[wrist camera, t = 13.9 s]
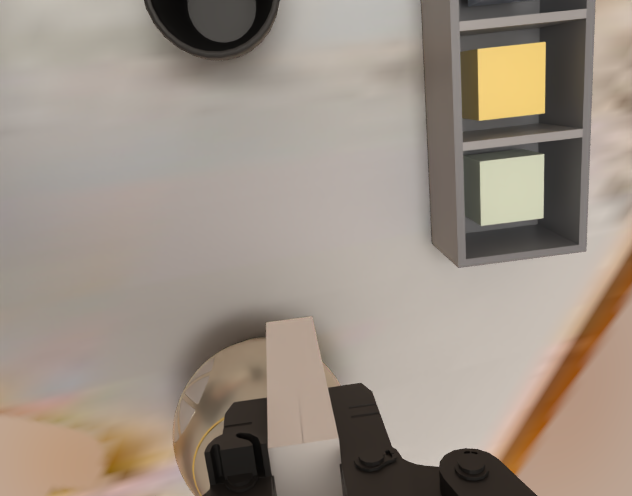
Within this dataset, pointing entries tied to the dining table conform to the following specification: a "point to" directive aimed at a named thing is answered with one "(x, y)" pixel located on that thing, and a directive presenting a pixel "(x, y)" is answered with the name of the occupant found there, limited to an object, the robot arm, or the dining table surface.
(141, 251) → the dining table surface
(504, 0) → the key
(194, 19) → the mug
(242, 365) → the teapot
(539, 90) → the key
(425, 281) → the dining table surface
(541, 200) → the key
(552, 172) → the compartment tray
